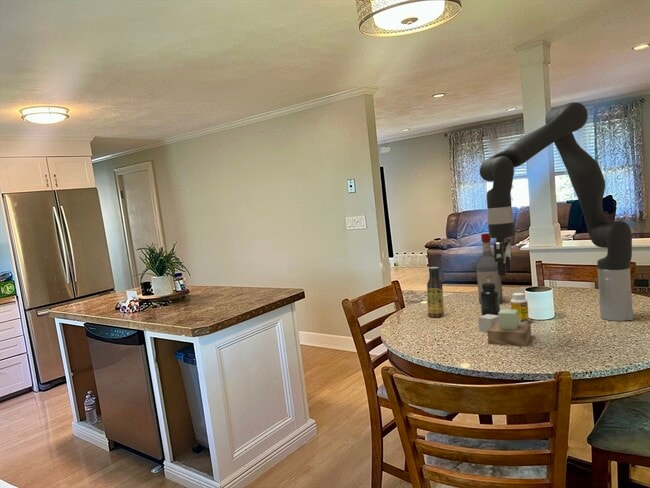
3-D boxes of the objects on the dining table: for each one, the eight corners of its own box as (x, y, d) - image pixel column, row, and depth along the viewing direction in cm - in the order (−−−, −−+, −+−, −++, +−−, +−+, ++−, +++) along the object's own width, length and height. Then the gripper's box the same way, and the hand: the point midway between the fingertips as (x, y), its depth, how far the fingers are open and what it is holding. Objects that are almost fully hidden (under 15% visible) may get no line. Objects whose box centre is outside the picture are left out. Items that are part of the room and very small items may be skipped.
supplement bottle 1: (492, 311, 178) (489, 281, 177) (504, 314, 171) (501, 284, 170) (478, 314, 176) (475, 284, 175) (489, 317, 169) (486, 286, 168)
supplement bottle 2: (523, 324, 155) (520, 296, 155) (508, 322, 160) (506, 294, 159) (532, 321, 159) (530, 293, 158) (518, 319, 163) (515, 291, 162)
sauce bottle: (427, 318, 178) (422, 269, 177) (429, 314, 184) (425, 266, 183) (444, 317, 176) (439, 268, 174) (446, 313, 181) (441, 265, 180)
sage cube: (518, 325, 142) (517, 309, 142) (516, 329, 138) (515, 313, 138) (502, 324, 145) (501, 309, 144) (499, 328, 141) (498, 313, 140)
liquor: (501, 305, 186) (496, 234, 184) (478, 305, 190) (473, 235, 188) (503, 300, 194) (497, 232, 192) (481, 300, 198) (475, 233, 196)
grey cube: (501, 330, 153) (499, 315, 152) (492, 333, 150) (491, 319, 149) (488, 327, 157) (487, 314, 156) (479, 331, 154) (478, 317, 153)
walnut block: (531, 335, 143) (530, 323, 143) (526, 345, 134) (525, 332, 134) (495, 333, 149) (494, 321, 149) (488, 343, 140) (487, 330, 140)
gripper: (509, 222, 131) (513, 277, 132) (517, 219, 143) (521, 269, 144) (483, 224, 135) (487, 277, 136) (492, 221, 147) (496, 269, 148)
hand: (504, 273), depth 140 cm, fingers open, 8 cm apart
